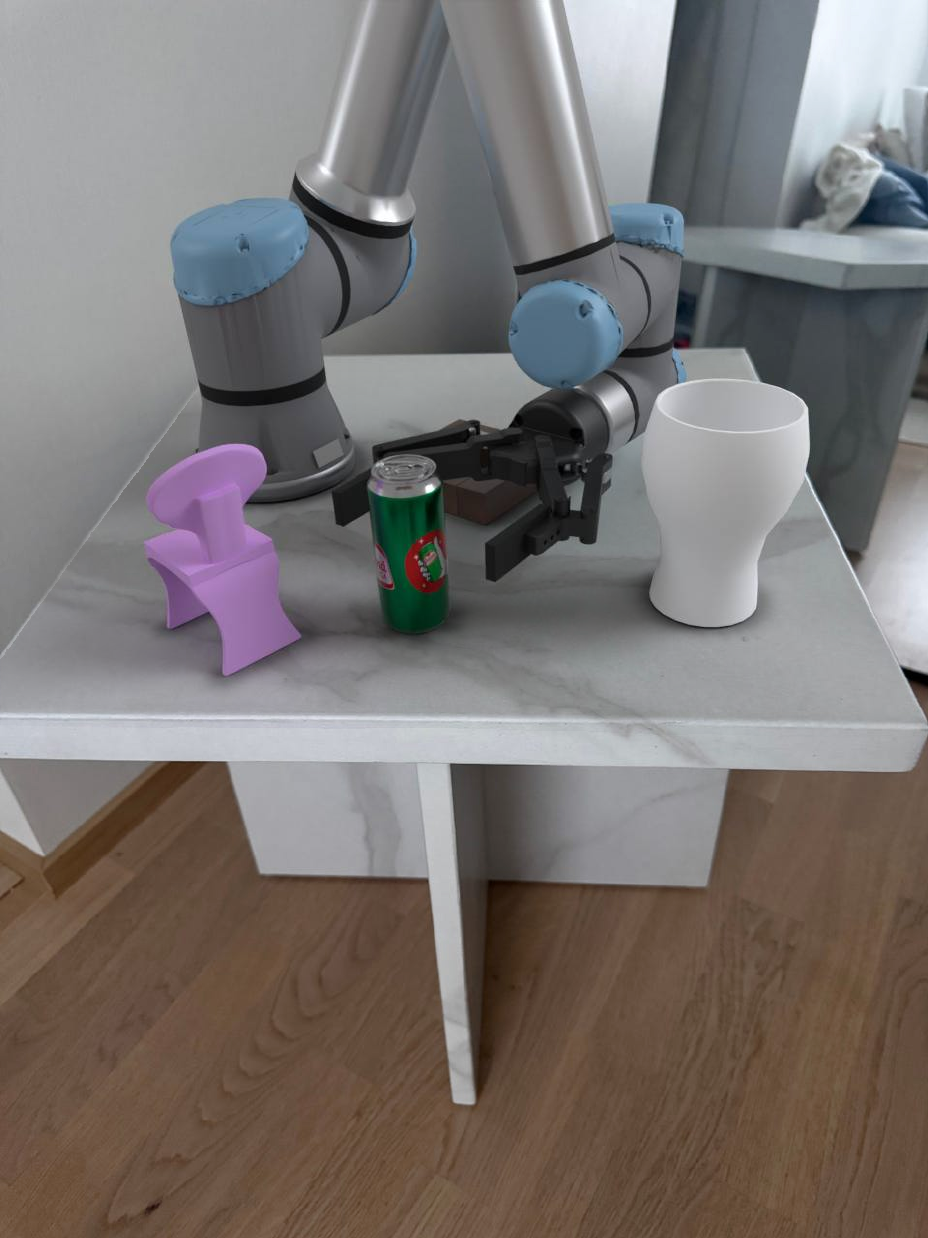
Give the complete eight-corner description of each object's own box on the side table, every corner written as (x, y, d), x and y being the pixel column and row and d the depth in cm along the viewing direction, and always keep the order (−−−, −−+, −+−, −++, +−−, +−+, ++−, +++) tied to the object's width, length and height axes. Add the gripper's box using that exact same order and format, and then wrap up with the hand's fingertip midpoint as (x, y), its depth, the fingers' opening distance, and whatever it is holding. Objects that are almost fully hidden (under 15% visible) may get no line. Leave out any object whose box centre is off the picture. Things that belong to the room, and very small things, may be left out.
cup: (784, 647, 59) (829, 440, 50) (626, 633, 61) (643, 432, 52) (771, 566, 67) (807, 377, 59) (632, 556, 69) (648, 372, 61)
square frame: (382, 490, 81) (379, 461, 79) (460, 446, 88) (459, 418, 86) (485, 525, 74) (484, 494, 73) (560, 474, 82) (561, 444, 80)
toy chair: (249, 586, 68) (209, 402, 59) (313, 631, 62) (280, 437, 54) (151, 630, 63) (93, 439, 55) (212, 684, 58) (157, 480, 49)
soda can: (382, 600, 65) (365, 453, 58) (448, 595, 66) (440, 449, 59) (381, 640, 61) (363, 487, 54) (452, 635, 61) (443, 481, 55)
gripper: (704, 507, 68) (563, 639, 55) (455, 439, 81) (290, 533, 68) (717, 417, 64) (567, 536, 51) (451, 360, 77) (275, 443, 63)
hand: (408, 534), depth 59 cm, fingers open, 13 cm apart
